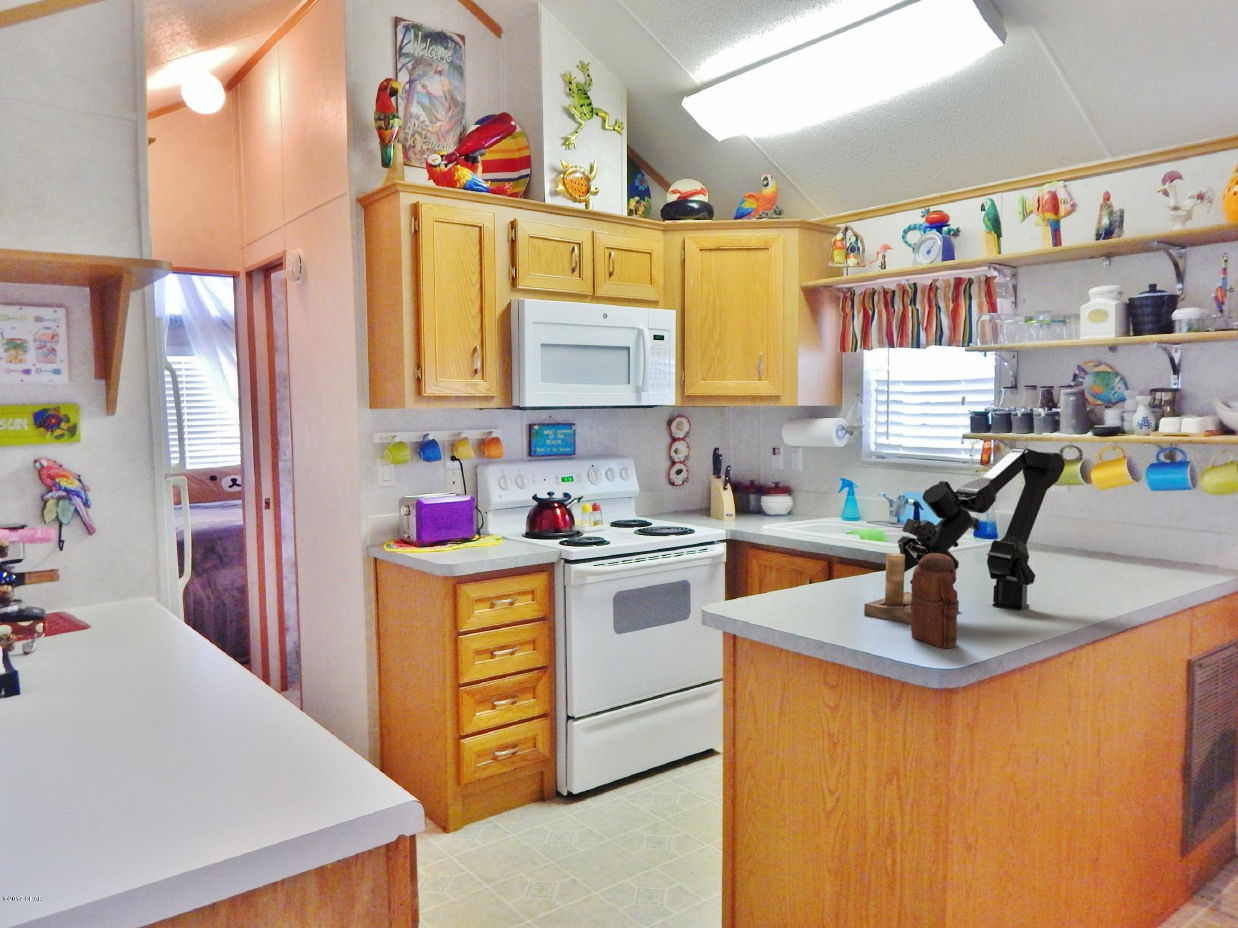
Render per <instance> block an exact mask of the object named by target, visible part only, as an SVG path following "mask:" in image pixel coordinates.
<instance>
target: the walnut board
mask: <svg viewBox="0 0 1238 928" xmlns="http://www.w3.org/2000/svg"><path fill="white" fill-rule="evenodd" d="M911 594H912V591H904V600H903V608H894V607H888V606H885V597H884V598H881V599H877V600H873V601H870V602H866V603H864V607H863V608H864V610H863V611H864V613H863V615H865V616H869V617H873V618H879V619H885V620H889V621H894V622H895V621H896V622H898V623H904V624H909V625H911V599H912V597H911ZM956 605H957V612H959V607H960V606H959V605H960V600H958V599H957V603H956Z"/></svg>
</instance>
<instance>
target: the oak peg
mask: <svg viewBox="0 0 1238 928" xmlns="http://www.w3.org/2000/svg"><path fill="white" fill-rule="evenodd" d="M885 554H886V555H885V556H886V557H885V559H886V560H885V588H884V590H885V591H884V593H885V594H884V598H885V606H888V607H894V608H903V600H904V592H905V572H904V567H905V555H903V554H900V553H897V552H896V553H895V552H894V553H893V552H892V553H891V552H890V553H889V552H888V553H885Z"/></svg>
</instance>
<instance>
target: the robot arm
mask: <svg viewBox="0 0 1238 928" xmlns="http://www.w3.org/2000/svg"><path fill="white" fill-rule="evenodd" d="M1065 465H1066V463H1065V460H1064V458H1063V457H1062V455H1061V454H1060V453H1058V452H1045V451H1044V452H1043V451H1037V450H1034V449H1031V448H1027V447H1025V448H1023V447H1014V448H1011V449H1009V450H1008V453H1007V454H1006V455H1005V456H1004V457H1003V458H1002V459H1001V460H999V461H998V462H997V463H996V464H994V465H993V467H992V468H991V469H989V470H988V471H987V472H986V473H985V474H983V475H982V476H981V477H979V478H978V479H975V480H972V481H968V482H967V483H965V484H963V485H961V486H960V487H957V489H956V490H955V491H954V489H953V488H952V486H951V484H950V483H949V482H948V481H946V480H940V481H939V482H938V484H934V485H932V486H930V487H929V488H928V489H926V490H925V491H924V492H923V494H922V500H923V502H924V504H926V506H927V507H928V508H929V509H930V510H931V512H932V513H933V514H934V516H936V517H937V519H940V521H939V522H937V523H936V524H934V522H932V521H930V520H927V519H924V520H923V521H921V522H920V521H918V520H916V519H912V518H908V517H907V519H906V521H905V523H904V525H903V527H902V532H904V533H908V534H910V535H912V536H914V537H911V536H909V535H902V536H901V537H900V538H899V539H898V540H897V544H898V545H897V546H898V548H899V554H903V555H905V567H904V573H906V572H908V571H909V570H911V569H913V568H914V567H915V568H916V566H917V565H918V562H919V561H920V560H921V558H922V557H924V556H925V555H927V554H931V553H940V554H944V555H947V556H949V557H950V558H951V559H952V560H953V562H954V567H955V569H956V571H957V570H958V569H959V564H960V563H959V560H958V559H957V558H956V557H955V556H954V555H953V554H952V553H951V552H950V551H949V550H950V549H952V547H953V548H958V546H959V544H960V543H958V541H959V540H960V539H961V538H962V537H963V536H964V535H965V534H966V533H967V531H968V530H969V529H970V530H974V531H976V532H979V530H980V525H979V521H980V520H979V518H977V517H974V516H972V515H971V513H976V514H985V513H986V512H988V511H989V510H990V509H991V507H992V506H993V505H994V503H995V502H996V498H997V494H998V493H999V492H1000V491H1001V490H1002V489H1003V488H1004V487H1005V486H1006V485H1007V484H1009V483H1010V482H1011V481H1012V480H1013V479H1014V478H1015V477H1016V476H1017V475H1018V474H1020V473H1021V472H1022V475H1023V479H1024V486H1023V489H1022V491H1021V492H1020V496H1019V498H1018V500H1017V504H1016V507H1015V509H1014V512H1013V515H1012V517H1011V520H1010V523H1009V525H1008V527H1007V530H1006V533H1005V535H1004V536H1003V537H1002V538H1001V539H1000V540H997V539H994V540H993V541H992V543H991V545H990V548H989V551H988V552H987V554H986V556H987V558H986V564H987V568H988V572H989V577H990V579H992V580H995V584H994V586H993V596H992V597H993V598H992V602H993V603H992V604H991V606H992V607H997V608H1005V609H1008V610H1009V609H1010V610H1016V611H1021V610H1024V609H1027V608H1029V607H1030V604H1028V586H1030V585H1034V583H1035V579H1036V574H1035V572H1034V570H1033V569H1032V568H1031V567H1030V565H1029V558H1030V554H1029V550H1028V545H1027V543H1028V541H1029V538H1030V536H1031V533H1032V531H1033V528H1034V526H1035V522H1036V519H1037V517H1038V515H1039V511H1040V510H1041V507H1042V504H1043V503H1044V502H1043V501H1044V498H1045V496H1046V494H1047V491H1048V490H1049V489H1050V488H1051V487H1052V486H1054V485H1055V484H1056V483H1058V481H1059V479H1060V478H1061V476H1062V474H1063V471H1064V470H1065V467H1066V466H1065ZM915 537H916V538H915ZM909 583H910V585H912V579H910V581H909Z"/></svg>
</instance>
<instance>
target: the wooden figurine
mask: <svg viewBox="0 0 1238 928" xmlns="http://www.w3.org/2000/svg"><path fill="white" fill-rule="evenodd" d="M911 580H912V584H911V587H910V588H911V593H912V594H911V597H912V599H911V624H910V626H911V629H910V631H911V632H910V633H911V636H912V637H913V638H914V639H916V640H920V641H921V642H924V643H928V644H930V645H934V646H935V647H939V648H940V647H941V649H946V648H947V649H952V648H955V647H956V645H957V639H958V638H957V635H958V628H957V627H958V624H957V623H958V622H957V621H958V618H957V617H958V611H957V605H956V603H957V600H958V591H957V590H956V589H955V588H954V584H955V583H956V581H957V570H956V569H955V567H954V562H953V560H952V559H951V558H950V557H949V556H947V555H944V554H940V553H931V554H927V555H925V556H924V557H922V558H921V560H920V561H919V562H918V565H916V566H915V568H914V569H913V572H912V578H911Z"/></svg>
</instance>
